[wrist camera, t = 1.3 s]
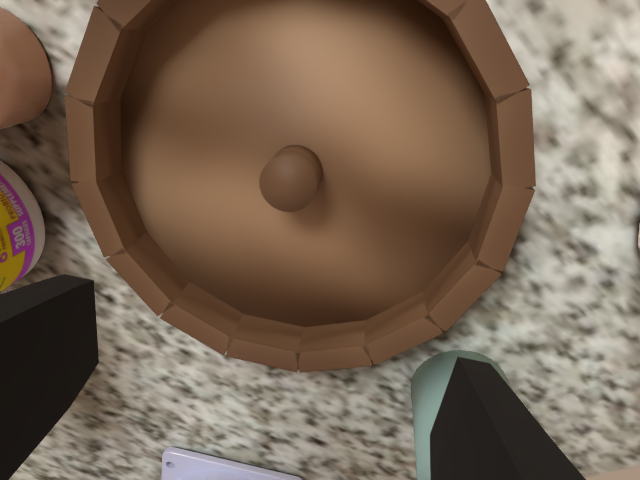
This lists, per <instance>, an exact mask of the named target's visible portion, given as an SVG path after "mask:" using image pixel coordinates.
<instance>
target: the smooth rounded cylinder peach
mask: <svg viewBox="0 0 640 480" xmlns="http://www.w3.org/2000/svg"><path fill="white" fill-rule="evenodd" d="M51 90H52V76H51V70H50V66H49V62H48V59H47V57H46V54H45V52H44V50H43V48H42V46H41V44H40V43H39V41H38V39H37V38H36V36H35V35H34V34H33V32H32V31H31V30H30V29H29V28H28V27H27V26H26V25H25V24H24V23H23V22H22V21H21V20H20V19H19V18H18V17H16V16H15V15H13V14H12V13H10V12H9V11H7V10H5V9H3V8H1V7H0V129H4V128H7V127H11V126H14V125H18V124H22V123H25V122H28V121H31V120H33V119H35V118H37V117H38V116H39V115H40V114H41V113H42V112H43V111H44V110H45V108H46V106H47V105H48V102H49V99H50V96H51Z"/></svg>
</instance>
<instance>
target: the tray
mask: <svg viewBox="0 0 640 480" xmlns="http://www.w3.org/2000/svg"><path fill="white" fill-rule="evenodd" d="M97 4H98V5H99V7H95V6H94V8H93V11H92V14H91V17H90V20H89V23H88V26H87V29H86V32H85V35H84V38H83V40H82V43H81V46H80V49H79V52H78V55H77V58H76V61H75V64H74V67H73V70H72V73H71V76H70V79H69V82H68V85H67V88H66V90H65V92H66V93H68V94H69V95H67V96H65V110H66V124H67V138H68V153H69V167H70V180H71V181H76V182H75V183H72V187H73V189H74V191H75V193H76V196H77V198H78V200H79V202H80V204H81V207H82V209H83V211H84V213H85V216H86V218H87V220H88V222H89V225H90V227H91V229H92V231H93V234H94V236H95V238H96V240H97V243H98V245H99V247H100V249H101V251H102V254H103V256H104V257H107V256H110V257H109V258H108V259H107V261H108V263H109V264H110V265H111V266H112V267H113V268H114V269H115V270H116V271H117V272H118V274H119V275H120V276H121V277H122V278H123V279H124V280H125V281H126V282H127V283H128V284H129V286H130V287H131V288H132V289H133V290H134V291H135V292H136V293H137V294H138V295H139V297H140V298H141V299H142V300H143V301H144V302H145V303H146V304H147V305H148V306H149V307H150V309H151V310H152V311H153V312H154V313H155V314H156V315H157V316H158V315H160V314H161V313H163V314H162V316H161V317H160V319H162V320H164V321H166V322H167V323H169V324H171V325H172V326H174V327H176V328H178V329H179V330H181V331H183V332H184V333H186V334H188V335H190V336H191V337H193V338H195V339H197V340H198V341H200V342H202V343H203V344H205V345H207V346H209V347H210V348H212V349H214V350H215V351H217V352H219V353H221V354H222V355H224V353H225V352H226V351H227V357H232V358H236V359H241V360H245V361H250V362H254V363H258V364H263V365H267V366H272V367H276V368H280V369H285V370H289V371H294V372H297V369H298V367H299V371H300V372H310V371H320V370H331V369H342V368H352V367H363V366H372V361H373V362H374V364H375V365H376V364H378V363H380V362H382V361H384V360H386V359H389V358H391V357H393V356H395V355H397V354H399V353H402V352H404V351H406V350H408V349H410V348H412V347H415V346H417V345H419V344H421V343H423V342H425V341H428V340H430V339H432V338H434V337H436V336H438V335H441V334H443V331H442V329H443V330H444V331H447V330H448V329H449V328H450V327H451V326H452V325H453V324H454V323H455V322H456V321H457V320H458V319H459V317H460V316H461V315H462V314H463V313H464V312H465V311H466V310H467V309H468V308H469V307H470V306H471V305H472V304H473V303H474V302H475V301H476V300H477V299H478V298H479V297H480V296H481V295H482V294H483V293H484V292H485V291H486V290H487V289H488V288H489V287H490V286H491V285H492V283H493V282H494V281H495V280H496V279H497V278H498V277H499V276H500V275H501V273H500V271H504V268H505V266H506V263H507V260H508V258H509V255H510V253H511V250H512V248H513V245H514V243H515V240H516V237H517V235H518V232H519V230H520V227H521V225H522V222H523V220H524V217H525V214H526V212H527V209H528V207H529V204H530V202H531V199H532V197H533V194H534V191H535V190H534V189H533V188H532V187H534V186H536V183H535V161H534V140H533V118H532V96H531V89H529V88H526V87H527V86H529V85H530V84H529V82H528V81H527V79H526V77H525V75H524V73H523V71H522V69H521V67H520V65H519V63H518V61H517V59H516V58H515V56H514V54H513V52H512V50H511V48H510V46H509V44H508V42H507V40H506V38H505V36H504V35H503V33H502V31H501V29H500V27H499V25H498V23H497V21H496V19H495V17H494V15H493V13H492V12H491V10H490V8H489V6H488V4H487V2H486V0H99V1H98V2H97Z"/></svg>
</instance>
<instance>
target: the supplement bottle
mask: <svg viewBox="0 0 640 480" xmlns="http://www.w3.org/2000/svg"><path fill="white" fill-rule="evenodd" d="M44 243H45V226H44V220H43V216H42V213H41V210H40V208H39V205H38V203H37V201H36V199H35V197H34V196H33V194H32V193H31V191H30V189H29V188H28V187H27V185H26V184H25V183H24V182H23V180H22V179H21V178H20V177H19V176H18V175H17V174H16V173H15V172H14V171H13V170H12V169H11V168H10V167H8V166H7V165H6V164H5V163H3V162H2V161H1V160H0V292H1V291H2V290H4V289H5V288H7V287H8V286H10V285H11V284H13V283H14V282H16V281H17V280H19V279H20V278H22V277H23V276H24V275H26V274H27V273H28V272H29V271H30V270H31V269H32V268H33V267H34V266H35V264H36V263H37V262H38V260H39V258H40V256H41V254H42V251H43V248H44Z"/></svg>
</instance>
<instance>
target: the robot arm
mask: <svg viewBox="0 0 640 480" xmlns="http://www.w3.org/2000/svg"><path fill="white" fill-rule="evenodd" d="M98 363H99V359H98V343H97V327H96V310H95V294H94V280H89V279H84V278H79V277H75V276H70V275H65V274H64V275H60V276H56V277H53V278H49V279H46V280H42V281H39V282H36V283H33V284H30V285H27V286H24V287H21V288H18V289H15V290H12V291H9V292H6V293H4V294H1V295H0V480H9V478H10V477H11V476H12V475H13V474H14V473H15V471H16V470H17V469H18V468H19V467H20V466H21V464H22V463H23V462H24V461H25V460H26V458H27V457H28V456H29V455H30V454H31V453H32V451H33V450H34V449H35V448H36V447H37V446H38V444H39V443H40V442H41V441H42V440H43V438H44V437H45V436H46V435H47V434H48V433H49V431H50V430H51V429H52V428H53V427H54V425H55V424H56V423H57V422H58V421H59V419H60V418H61V417H62V416H63V415H64V413H65V412H66V411H67V410H68V408H69V407H70V406H71V404H72V403H73V401H74V400H75V398H76V397H77V395H78V394H79V392H80V391H81V390H82V388H83V387H84V385H85V383H86V382H87V380H88V379H89V377H90V375H91V374H92V372H93V371H94V369H95V367H96V366H97V364H98ZM430 476H431V480H586V479H585V478H584V477H583V476H582V475H581V474H580V472H579V471H578V470H577V469H576V468H575V467H574V466H573V464H572V463H571V462H570V461H569V460H568V458H567V457H566V456H565V455H564V454H563V453H562V451H561V450H560V449H559V448H558V446H557V445H556V444H555V443H554V442H553V440H552V439H551V438H550V437H549V436H548V434H547V433H546V432H545V431H544V429H543V428H542V427H541V426H540V424H539V423H538V422H537V421H536V420H535V418H534V417H533V416H532V414H531V413H530V412H529V411H528V409H527V408H526V407H525V406H524V404H523V403H522V402H521V401H520V399H519V398H518V397H517V396H516V394H515V393H514V392H513V391H512V389H511V388H510V387H509V385H508V384H507V383H506V382H505V380H504V379H503V378H502V377H501V376H500V374H499V373H498V372H497V371H496V369H495V368H494V367H493V366H492V365H491V364H490V363H487V362H482V361H477V360H473V359H468V358H463V357H457V360H456V362H455V365H454V368H453V371H452V374H451V376H450V379H449V382H448V385H447V388H446V391H445V393H444V396H443V399H442V402H441V405H440V407H439V410H438V413H437V416H436V419H435V422H434V424H433V427H432V430H431V433H430ZM162 480H303V479H301V478H300V477H297V476H293V475H289V474H285V473H281V472H276V471H272V470H268V469H264V468H260V467H255V466H251V465H247V464H243V463H238V462H234V461H230V460H226V459H222V458H217V457H213V456H209V455H205V454H201V453H196V452H192V451H188V450H184V449H180V448H175V447H168V448H166V449H165V451H164V453H163V455H162Z"/></svg>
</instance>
